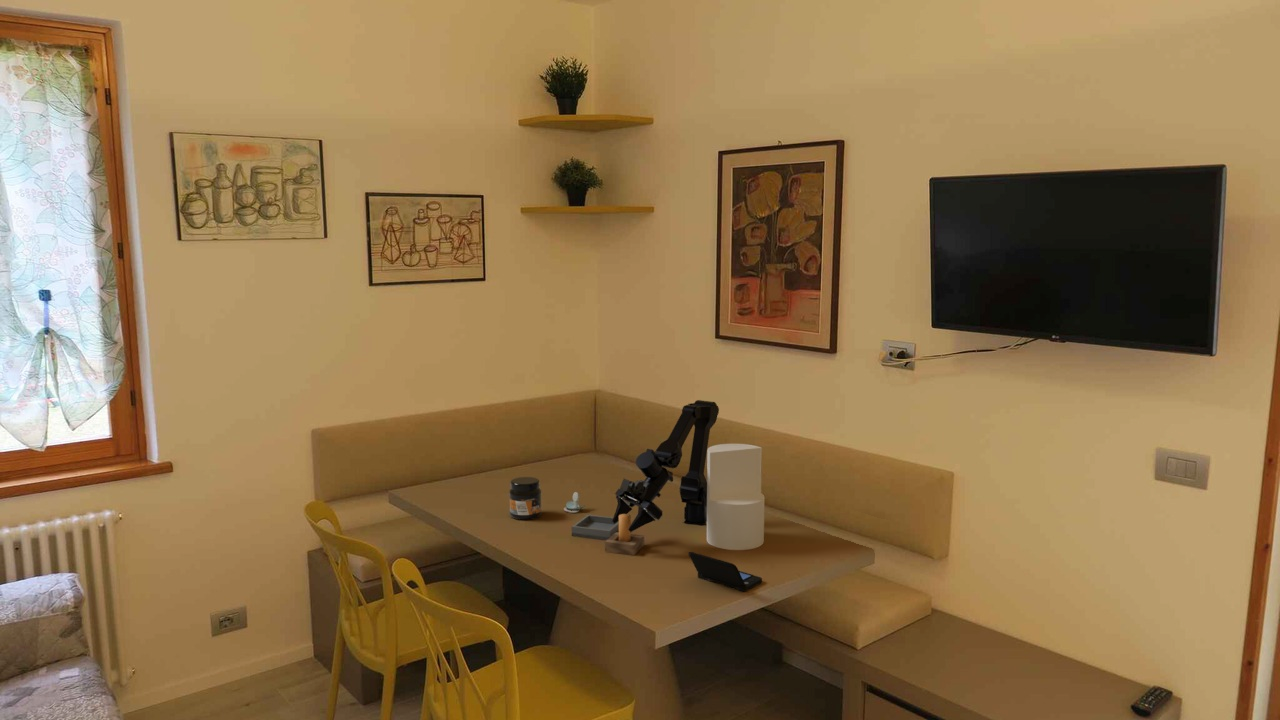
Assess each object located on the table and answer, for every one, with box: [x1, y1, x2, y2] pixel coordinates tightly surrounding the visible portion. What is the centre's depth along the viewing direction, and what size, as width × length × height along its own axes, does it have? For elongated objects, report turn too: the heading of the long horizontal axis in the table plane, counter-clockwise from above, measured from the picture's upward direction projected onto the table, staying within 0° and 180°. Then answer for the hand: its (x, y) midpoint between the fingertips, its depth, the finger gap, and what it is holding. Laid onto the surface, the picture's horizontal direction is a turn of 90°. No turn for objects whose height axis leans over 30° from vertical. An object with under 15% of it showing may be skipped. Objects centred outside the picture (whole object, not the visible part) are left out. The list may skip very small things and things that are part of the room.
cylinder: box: [706, 443, 765, 551], centre depth 267 cm, size 17×17×28 cm
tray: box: [571, 514, 619, 541], centre depth 276 cm, size 13×13×3 cm
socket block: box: [604, 532, 645, 556], centre depth 262 cm, size 9×9×3 cm
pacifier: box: [563, 491, 585, 514], centre depth 298 cm, size 7×6×6 cm
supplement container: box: [508, 476, 542, 521], centre depth 292 cm, size 10×10×12 cm
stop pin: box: [619, 513, 632, 542], centre depth 261 cm, size 4×4×10 cm
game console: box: [688, 551, 763, 593], centre depth 236 cm, size 16×14×9 cm
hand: (621, 526), depth 260 cm, fingers open, 9 cm apart
